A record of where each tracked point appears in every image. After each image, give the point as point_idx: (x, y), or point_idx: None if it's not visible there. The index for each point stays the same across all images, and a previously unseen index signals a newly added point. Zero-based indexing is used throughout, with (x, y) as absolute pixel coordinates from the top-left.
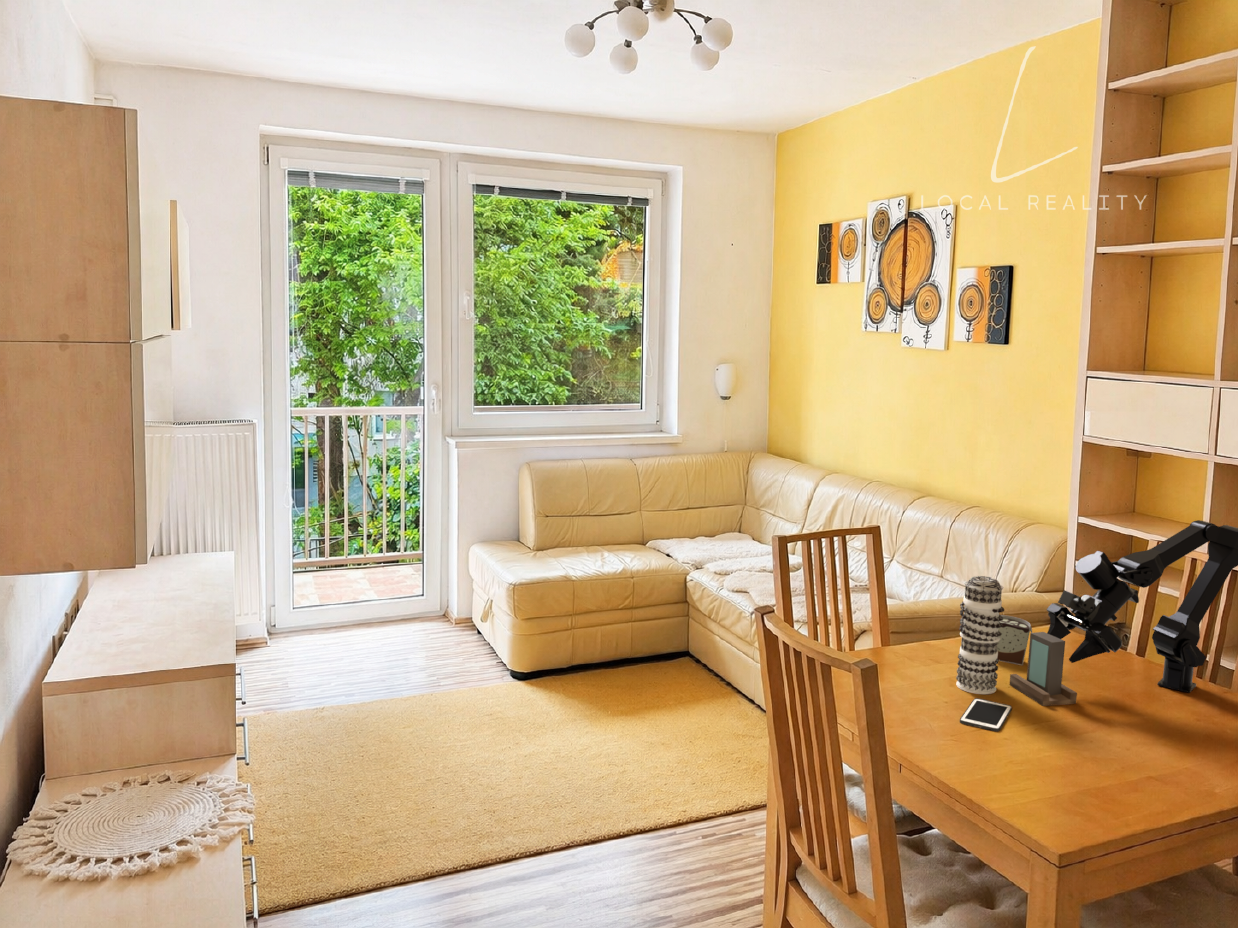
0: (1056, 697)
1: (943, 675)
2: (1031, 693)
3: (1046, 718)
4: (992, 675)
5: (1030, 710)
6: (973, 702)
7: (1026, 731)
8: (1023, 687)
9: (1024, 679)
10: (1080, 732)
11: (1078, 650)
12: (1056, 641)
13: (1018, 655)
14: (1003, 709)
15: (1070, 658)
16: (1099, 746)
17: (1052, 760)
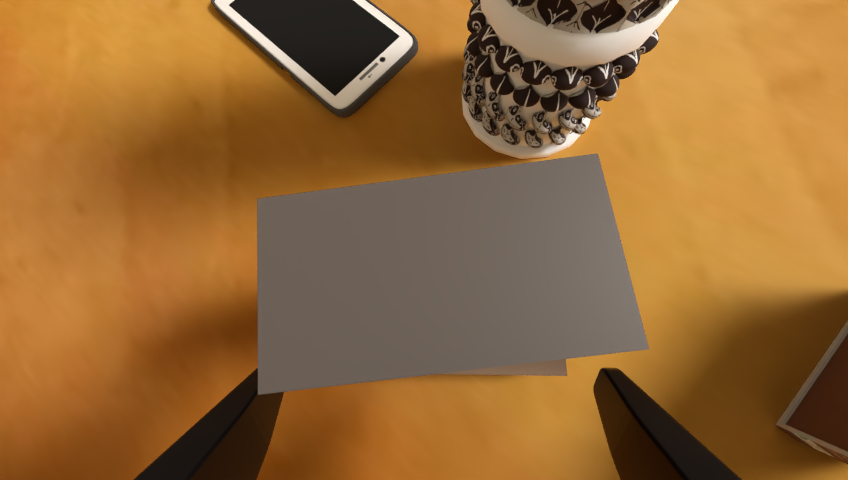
0: None
1: None
2: None
3: (249, 178)
4: (486, 85)
5: (314, 165)
6: (386, 20)
7: (192, 73)
8: None
9: None
10: (136, 217)
11: (168, 456)
12: (274, 271)
13: (842, 423)
14: (321, 76)
15: (257, 370)
16: (46, 210)
17: (40, 45)
